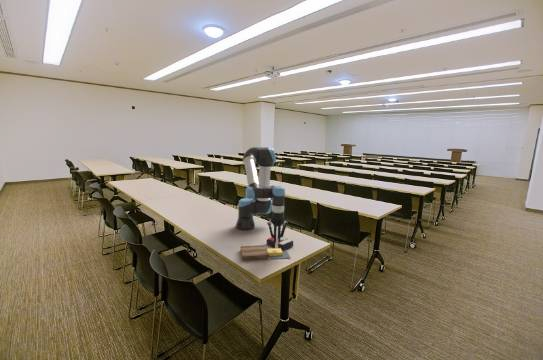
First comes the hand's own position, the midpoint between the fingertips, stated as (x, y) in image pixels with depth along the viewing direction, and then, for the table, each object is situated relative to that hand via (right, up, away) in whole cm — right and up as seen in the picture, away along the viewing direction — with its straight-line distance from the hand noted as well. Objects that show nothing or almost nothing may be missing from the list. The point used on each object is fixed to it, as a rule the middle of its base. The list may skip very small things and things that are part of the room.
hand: (276, 247), depth 161 cm
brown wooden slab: (-14, -4, -2) cm, 15 cm away
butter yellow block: (-1, -4, 0) cm, 4 cm away
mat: (+1, -4, +1) cm, 4 cm away
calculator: (+2, -2, +13) cm, 14 cm away
